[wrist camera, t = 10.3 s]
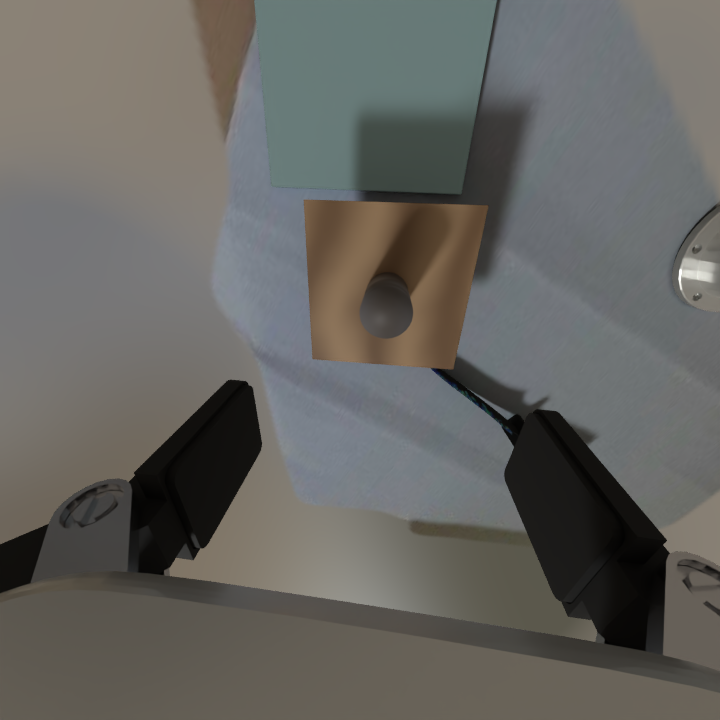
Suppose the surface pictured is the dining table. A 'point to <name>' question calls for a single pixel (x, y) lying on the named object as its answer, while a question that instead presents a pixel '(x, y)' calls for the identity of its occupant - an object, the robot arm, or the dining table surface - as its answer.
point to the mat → (372, 91)
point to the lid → (390, 279)
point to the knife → (486, 408)
